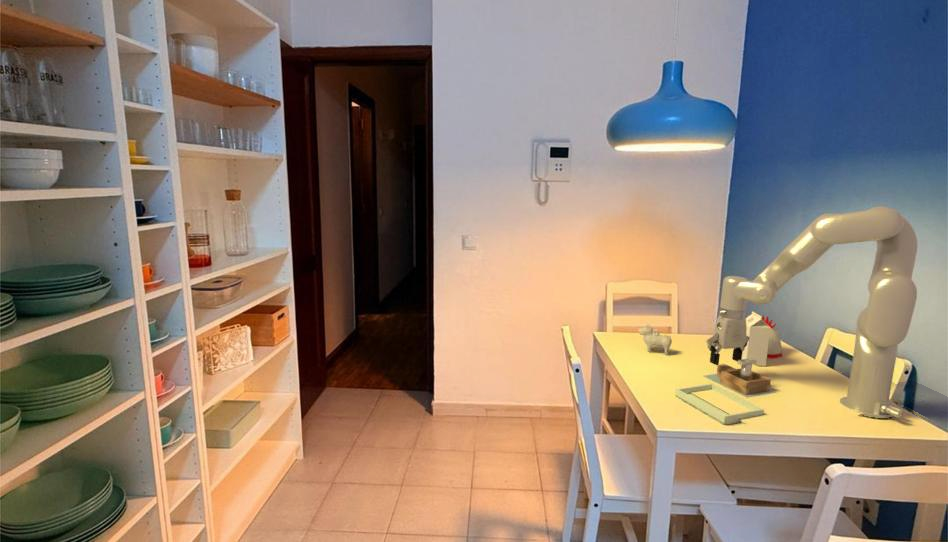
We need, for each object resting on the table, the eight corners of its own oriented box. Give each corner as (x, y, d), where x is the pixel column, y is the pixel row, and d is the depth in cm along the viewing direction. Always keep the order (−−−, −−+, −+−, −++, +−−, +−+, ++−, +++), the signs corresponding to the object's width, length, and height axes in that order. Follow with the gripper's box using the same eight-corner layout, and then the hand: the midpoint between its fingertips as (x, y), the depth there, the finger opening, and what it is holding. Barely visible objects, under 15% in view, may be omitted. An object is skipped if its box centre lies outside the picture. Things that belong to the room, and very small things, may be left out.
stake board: (775, 395, 153) (776, 392, 153) (746, 400, 149) (746, 397, 149) (729, 374, 170) (730, 371, 169) (702, 378, 166) (702, 375, 166)
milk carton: (756, 359, 184) (762, 311, 181) (765, 366, 177) (771, 316, 174) (737, 359, 185) (742, 311, 181) (745, 365, 178) (751, 316, 175)
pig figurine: (638, 347, 198) (640, 322, 196) (671, 352, 192) (673, 326, 190) (635, 350, 193) (637, 325, 191) (669, 356, 187) (671, 330, 185)
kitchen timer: (748, 344, 202) (752, 309, 200) (786, 352, 192) (790, 316, 190) (736, 351, 193) (740, 315, 191) (774, 361, 183) (779, 323, 181)
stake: (755, 387, 156) (758, 360, 155) (740, 389, 155) (743, 362, 153) (747, 383, 159) (750, 357, 158) (733, 386, 157) (736, 359, 156)
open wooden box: (769, 391, 154) (771, 379, 153) (745, 395, 151) (746, 383, 150) (731, 373, 168) (732, 362, 167) (708, 377, 165) (709, 365, 164)
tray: (762, 417, 138) (763, 409, 138) (723, 425, 134) (724, 416, 133) (711, 390, 156) (711, 383, 156) (675, 396, 152) (675, 389, 151)
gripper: (720, 318, 154) (713, 369, 157) (761, 315, 159) (754, 364, 162) (702, 312, 161) (696, 360, 164) (742, 309, 166) (736, 356, 169)
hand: (725, 362), depth 163 cm, fingers open, 9 cm apart
